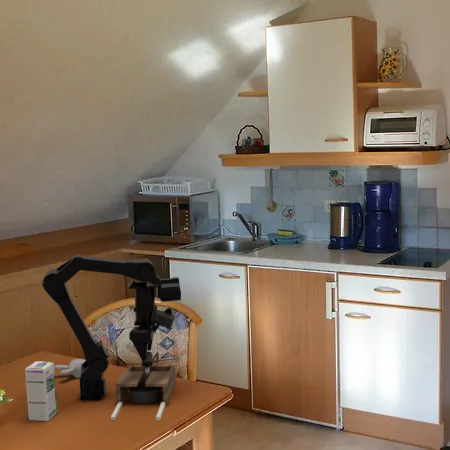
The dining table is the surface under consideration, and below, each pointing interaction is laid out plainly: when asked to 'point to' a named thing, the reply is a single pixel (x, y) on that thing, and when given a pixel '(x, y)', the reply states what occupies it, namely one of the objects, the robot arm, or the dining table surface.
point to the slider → (148, 365)
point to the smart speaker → (144, 393)
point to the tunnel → (157, 378)
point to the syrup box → (41, 391)
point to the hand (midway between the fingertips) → (146, 355)
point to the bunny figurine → (71, 368)
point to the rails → (121, 406)
